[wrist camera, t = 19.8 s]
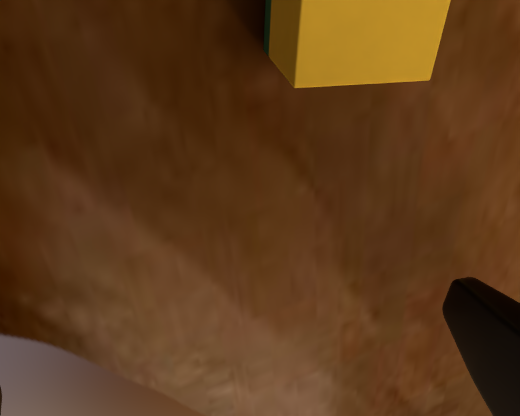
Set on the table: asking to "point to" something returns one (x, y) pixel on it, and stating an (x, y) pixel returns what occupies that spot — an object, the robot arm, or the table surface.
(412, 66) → the sponge
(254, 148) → the table surface
